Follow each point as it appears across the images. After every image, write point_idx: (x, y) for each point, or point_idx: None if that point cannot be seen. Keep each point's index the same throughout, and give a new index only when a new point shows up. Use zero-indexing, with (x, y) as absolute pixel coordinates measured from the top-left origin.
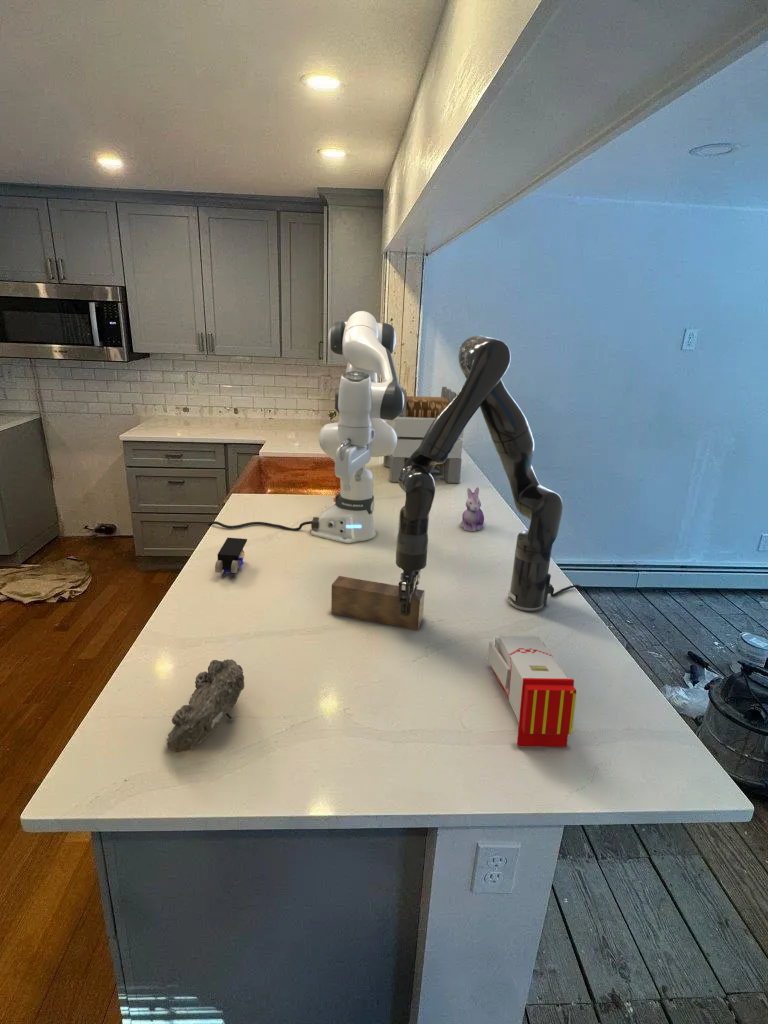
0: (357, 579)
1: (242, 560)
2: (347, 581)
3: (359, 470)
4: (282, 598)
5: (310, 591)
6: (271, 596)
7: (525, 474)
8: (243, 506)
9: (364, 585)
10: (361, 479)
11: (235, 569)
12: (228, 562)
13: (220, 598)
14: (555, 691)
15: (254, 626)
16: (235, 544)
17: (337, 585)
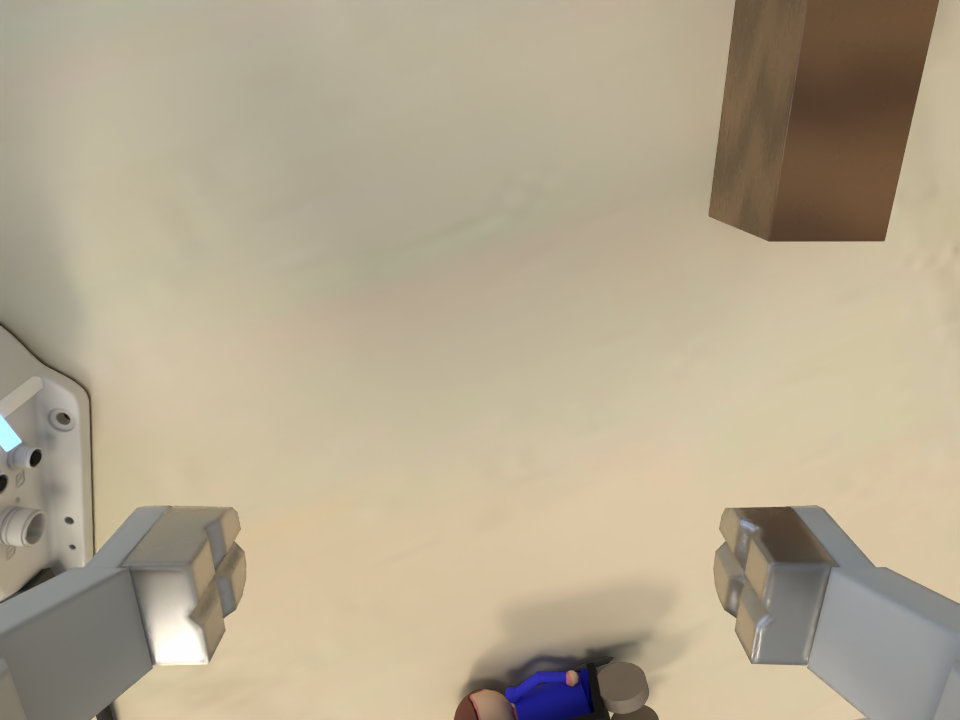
0: (795, 122)
1: (526, 686)
2: (831, 171)
3: (52, 683)
4: (716, 443)
5: (629, 368)
6: (710, 485)
7: None
8: None
9: (867, 54)
10: (183, 515)
11: (640, 674)
12: (607, 718)
13: None
14: None
15: (940, 446)
16: None
17: (888, 208)
